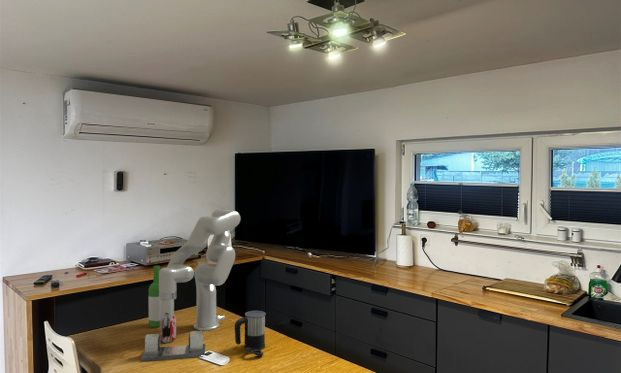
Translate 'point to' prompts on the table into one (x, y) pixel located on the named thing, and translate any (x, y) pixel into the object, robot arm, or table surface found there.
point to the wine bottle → (154, 300)
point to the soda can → (172, 331)
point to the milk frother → (252, 331)
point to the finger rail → (173, 348)
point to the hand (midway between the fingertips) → (167, 332)
